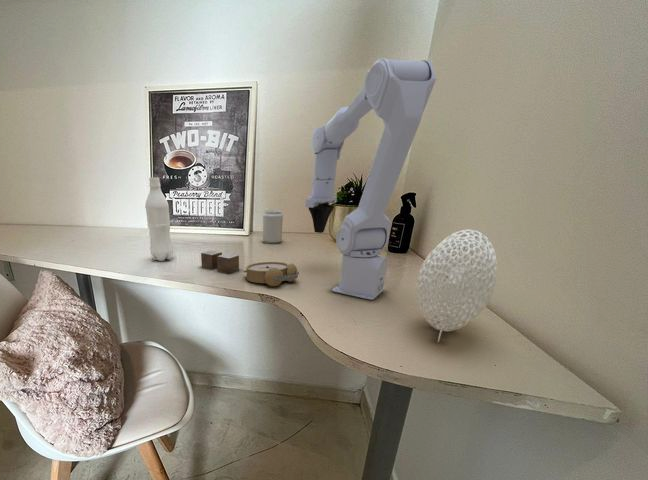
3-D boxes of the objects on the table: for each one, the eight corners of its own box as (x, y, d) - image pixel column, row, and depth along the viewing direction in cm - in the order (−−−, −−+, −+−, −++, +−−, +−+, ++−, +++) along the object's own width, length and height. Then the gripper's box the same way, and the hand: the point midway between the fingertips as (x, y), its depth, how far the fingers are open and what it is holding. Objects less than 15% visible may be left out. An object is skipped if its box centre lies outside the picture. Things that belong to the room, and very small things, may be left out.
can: (259, 240, 134) (260, 209, 129) (276, 239, 136) (277, 208, 131) (267, 244, 128) (268, 212, 123) (284, 243, 130) (286, 210, 125)
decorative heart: (419, 308, 69) (438, 223, 62) (482, 321, 63) (511, 228, 56) (395, 341, 56) (417, 239, 49) (471, 361, 50) (508, 248, 43)
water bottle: (175, 260, 108) (168, 177, 98) (153, 263, 106) (143, 178, 96) (170, 255, 114) (163, 176, 104) (149, 258, 112) (140, 177, 102)
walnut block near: (239, 270, 97) (239, 255, 95) (229, 273, 94) (229, 258, 92) (227, 267, 99) (227, 253, 98) (217, 271, 96) (217, 256, 94)
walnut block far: (222, 266, 101) (221, 252, 99) (212, 269, 98) (211, 255, 96) (211, 264, 103) (211, 250, 101) (201, 267, 100) (200, 252, 98)
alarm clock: (267, 260, 95) (308, 261, 83) (269, 277, 96) (310, 280, 84) (236, 267, 89) (276, 269, 77) (238, 285, 90) (278, 290, 78)
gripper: (322, 178, 95) (317, 227, 100) (296, 180, 85) (293, 234, 90) (346, 178, 90) (340, 229, 96) (322, 180, 80) (317, 237, 86)
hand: (319, 232), depth 93 cm, fingers closed
